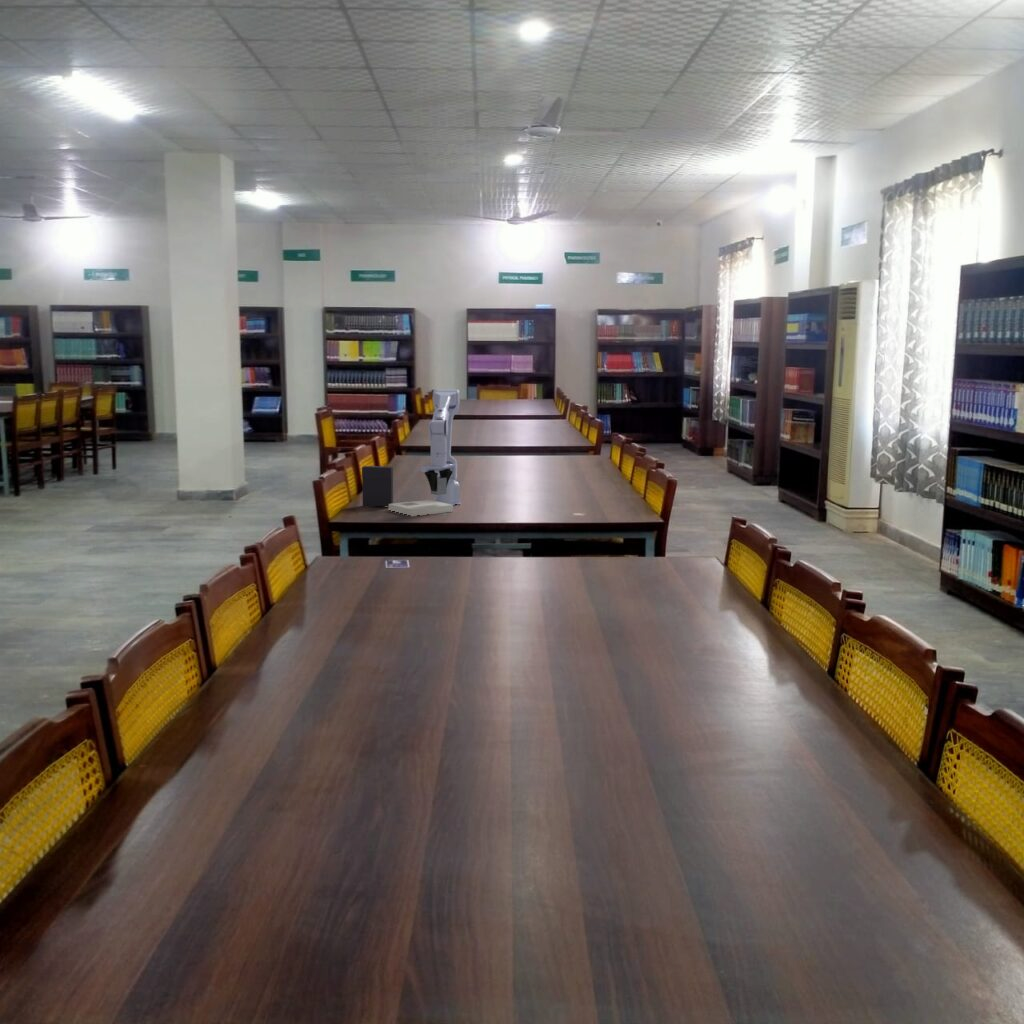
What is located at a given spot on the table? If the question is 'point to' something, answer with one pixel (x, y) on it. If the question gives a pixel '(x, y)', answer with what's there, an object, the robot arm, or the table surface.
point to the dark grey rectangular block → (377, 485)
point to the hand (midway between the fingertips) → (438, 490)
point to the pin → (440, 486)
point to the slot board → (421, 507)
